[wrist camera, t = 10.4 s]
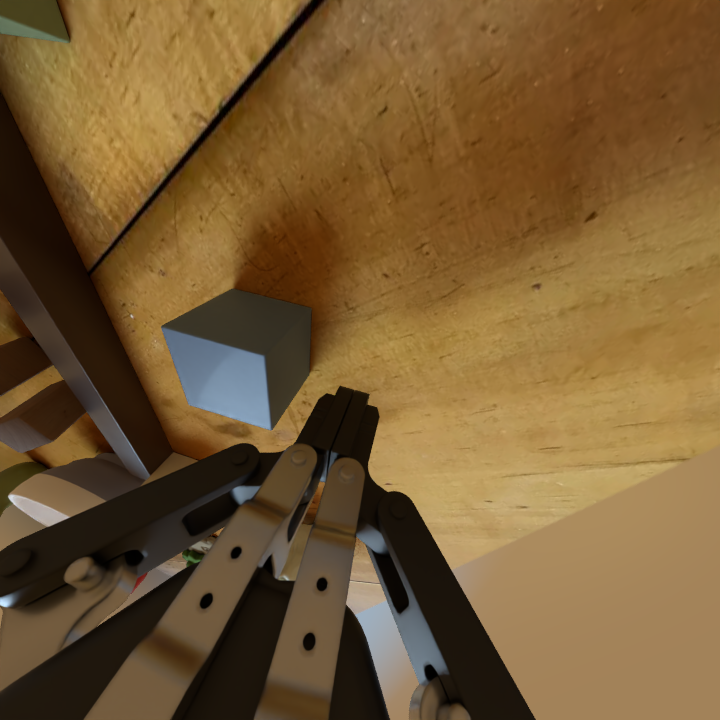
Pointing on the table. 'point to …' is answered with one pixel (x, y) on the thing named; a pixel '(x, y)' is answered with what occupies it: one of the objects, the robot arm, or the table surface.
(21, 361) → the wooden block set
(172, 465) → the cream block
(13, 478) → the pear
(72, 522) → the robot arm
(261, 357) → the blue block
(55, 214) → the straightedge
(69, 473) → the bowl
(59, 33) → the green block
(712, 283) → the table surface
